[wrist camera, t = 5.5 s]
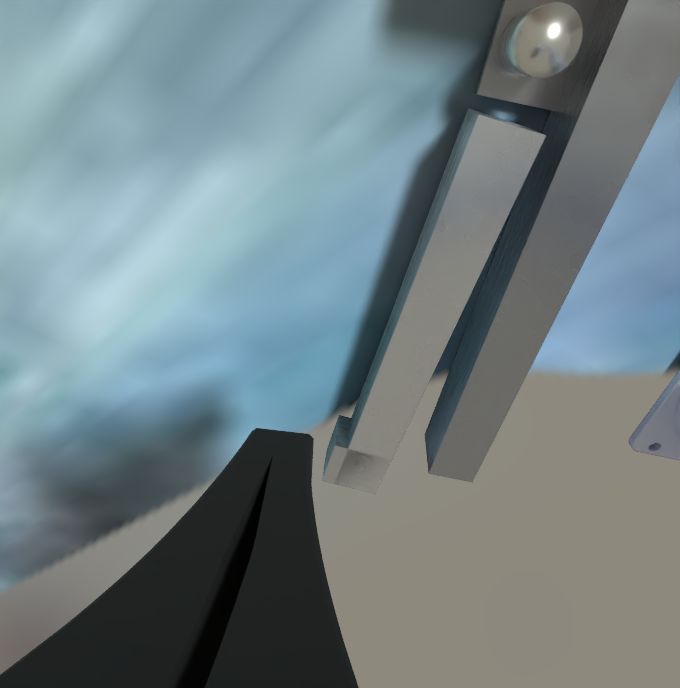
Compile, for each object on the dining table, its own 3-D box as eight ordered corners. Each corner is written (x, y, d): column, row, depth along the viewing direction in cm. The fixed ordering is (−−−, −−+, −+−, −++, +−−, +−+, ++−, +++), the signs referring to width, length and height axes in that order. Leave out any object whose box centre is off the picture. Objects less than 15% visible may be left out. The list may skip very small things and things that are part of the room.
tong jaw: (449, 102, 14) (458, 107, 12) (527, 126, 14) (546, 135, 13) (327, 449, 23) (322, 480, 21) (376, 462, 23) (375, 494, 21)
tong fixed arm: (745, -169, 11) (830, -224, 9) (464, 442, 22) (472, 482, 20) (565, -209, 11) (608, -275, 9) (375, 424, 22) (373, 462, 20)
